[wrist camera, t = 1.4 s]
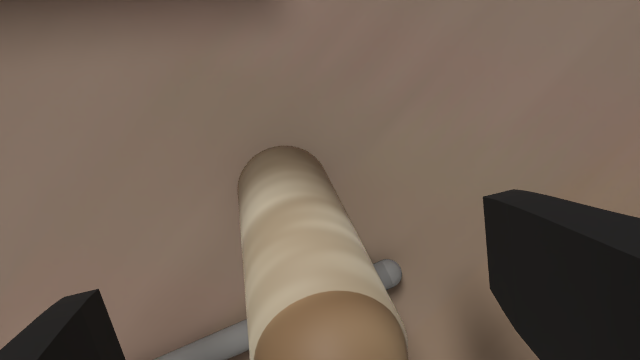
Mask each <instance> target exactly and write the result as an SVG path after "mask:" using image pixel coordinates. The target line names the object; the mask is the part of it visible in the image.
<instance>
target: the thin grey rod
mask: <svg viewBox="0 0 640 360" xmlns="http://www.w3.org/2000/svg"><path fill="white" fill-rule="evenodd" d="M373 266H374V268H375V270H376V272H377V273H378V275H379V277H380V279H381V281H382V283H383V285H384V287H385V289H386V290H387V289H390V288H392V287H394V286H396V285H397V284H398V283H399V282H400V280H401V277H402V271H401V268H400V266H399V265H398V264H397V263H396V262H395V261H393V260H390V259H385V260H381V261H379V262H377V263H374V264H373ZM247 350H249V341H248V327H247V319H246V320H243V321H241V322H239V323H237V324H234V325H232V326H230V327H227V328H225V329H223V330H220V331H218V332H216V333H214V334H211V335H209V336H207V337H204V338H202V339H200V340H197V341H195V342H193V343H191V344H188V345H186V346H184V347H181V348H179V349H177V350H174V351H172V352H170V353H168V354H165V355H163V356H161V357H158V358H156V359H154V360H227V359H229V358H231V357H234V356H236V355H238V354H241V353H243V352H245V351H247Z"/></svg>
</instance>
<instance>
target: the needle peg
mask: <svg viewBox="0 0 640 360" xmlns="http://www.w3.org/2000/svg"><path fill="white" fill-rule="evenodd" d="M238 204H239V217H240V231H241V245H242V259H243V272H244V286H245V300H246V313H247V327H248V341H249V354H250V360H408V351H407V350H408V340H407V334H406V330H405V327H404V325H403V322H402V320H401V318H400V316H399V315H398V313H397V311H396V309H395V307H394V305H393V303H392V301H391V299H390V297H389V295H388V293H387V291H386V289H385V287H384V285H383V283H382V281H381V279H380V277H379V275H378V273H377V272H376V270H375V268H374V266H373V264H372V262H371V260H370V258H369V256H368V254H367V252H366V250H365V248H364V246H363V244H362V242H361V240H360V238H359V236H358V234H357V232H356V231H355V229H354V227H353V225H352V223H351V221H350V219H349V217H348V215H347V213H346V211H345V209H344V207H343V205H342V203H341V201H340V199H339V197H338V195H337V193H336V191H335V190H334V188H333V186H332V184H331V182H330V180H329V178H328V176H327V174H326V172H325V170H324V168H323V166H322V165H321V163H320V162H319V161H318V160H317V159H316V158H315V157H314V156H313V155H312V154H310V153H309V152H307V151H305V150H303V149H300V148H297V147H292V146H278V147H273V148H269V149H267V150H264V151H262V152H260V153H259V154H257V155H256V156H254V157H253V158H252V159H251V160H250V161H249V162H248V163H247V165H246V166H245V167H244V169H243V171H242V173H241V175H240V178H239V182H238Z"/></svg>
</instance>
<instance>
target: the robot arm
mask: <svg viewBox="0 0 640 360" xmlns="http://www.w3.org/2000/svg"><path fill="white" fill-rule="evenodd" d="M483 204H484V217H485V230H486V243H487V256H488V269H489V282H490V289H491V291H492V293H493V294H494V296H495V298H496V300H497V301H498V303H499V305H500V306H501V308H502V310H503V311H504V313H505V314H506V316H507V317H508V319H509V321H510V322H511V324H512V325H513V327H514V328H515V330H516V331H517V332H518V334H519V335H520V336H521V337H522V339H523V340H524V341H525V342H526V344H527V345H528V346H529V347H530V348H531V350H532V351H533V352H534V353H535V354H536V356H537V357H538V358H539V359H540V360H640V218H637V217H633V216H628V215H624V214H620V213H615V212H611V211H607V210H603V209H599V208H595V207H591V206H587V205H583V204H579V203H575V202H571V201H568V200H564V199H560V198H556V197H552V196H547V195H543V194H539V193H534V192H529V191H523V190H514V189H513V190H509V191H505V192H501V193H497V194H492V195H488V196H484V197H483ZM0 360H125V357H124V354H123V352H122V349H121V347H120V344H119V341H118V339H117V336H116V333H115V331H114V328H113V325H112V323H111V320H110V317H109V315H108V312H107V310H106V307H105V304H104V302H103V299H102V296H101V294H100V291H99V289H96V290H92V291H88V292H83V293H79V294H75V295H71V296H67V297H64V298H62V299H61V300H59V301H58V302H56V303H55V304H53V305H52V306H51V307H50V308H48V309H47V310H46V311H45V312H43V313H42V314H41V315H40V316H39V317H37V318H36V319H35V320H34V321H33V322H32V323H31V324H29V325H28V326H27V327H26V328H25V329H24V330H23V331H21V332H20V333H19V334H18V335H17V336H16V337H15V338H13V339H12V340H11V341H10V342H9V343H8V344H7V345H6V346H4V347H3V348H2V349H1V350H0Z"/></svg>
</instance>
